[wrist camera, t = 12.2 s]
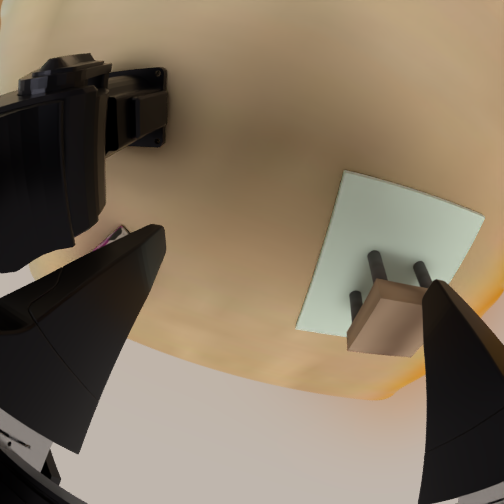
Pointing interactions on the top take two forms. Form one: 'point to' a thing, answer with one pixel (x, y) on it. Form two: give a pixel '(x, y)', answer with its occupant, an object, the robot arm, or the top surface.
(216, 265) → the top surface
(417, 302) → the walnut stool
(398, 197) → the felt mat
